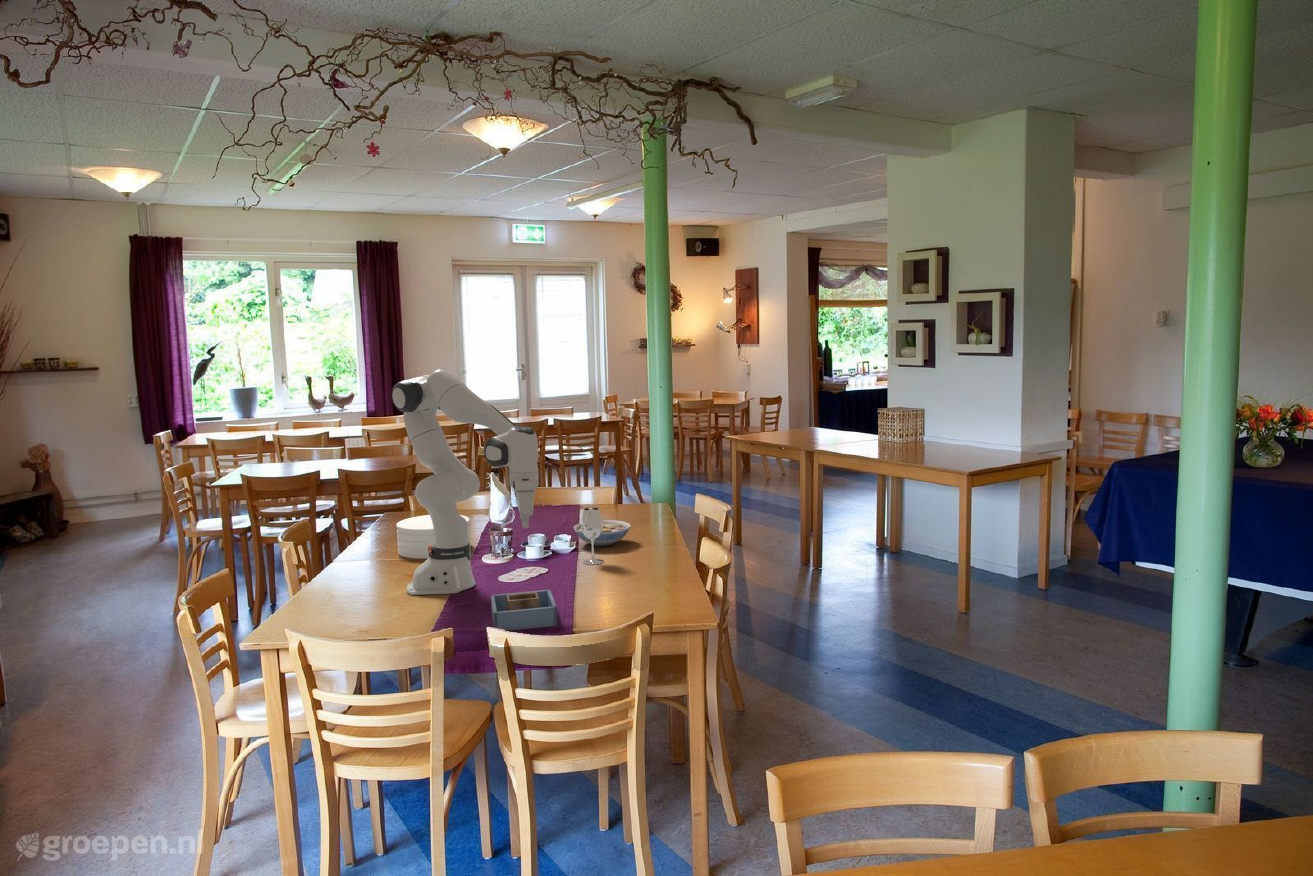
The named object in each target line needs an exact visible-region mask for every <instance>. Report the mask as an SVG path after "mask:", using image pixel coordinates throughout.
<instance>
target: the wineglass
mask: <svg viewBox="0 0 1313 876" xmlns="http://www.w3.org/2000/svg"><path fill="white" fill-rule="evenodd" d="M581 517H582V518H581V529H582V533H583V535H584V536H585V537H586V538H588V539H590V540H591V557H590V558H588V559H584V560H583V561H582V563H583V564H584V565H587V566H588V565H589V566H590V565H591V566H595V565H601V564H603V563H604V560H603V559H601V558H596V557H595V551H594V549H595V548H594V546H595V545H594V539H596V538H598V537H599V536H600V535H601V533H602V530H603V525H602V515H601V512H600V508H599V507H595V506H594V507H585V508H583V512H582V516H581Z"/></svg>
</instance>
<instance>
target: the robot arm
mask: <svg viewBox="0 0 1313 876" xmlns="http://www.w3.org/2000/svg"><path fill="white" fill-rule="evenodd" d="M391 400H392V403H393V405H394V406H395V408H396V409H397V410H398V411H400V412H401V413H403V422H404V427H405V430H406V433H407V436H408V440H409V441H410V444H411V446H412V448H413V451H414V454H415V457H416V458H417V460H418V462H419V464H421V465H422V466H424V467H426V468H428V469H429V470H430V471H431V472H432V473H433V474H431V475H429V476H427V477H425V478H423V479H422V480H420V481H419V482H418V483H417V485H416V487H415V498H416V500H417V502H418V504H419V505H420V506H421V507H423V508H424V509H425V510H426V511H427V513H428V515H430V517H431V520H432V523H433V529H434V540H435V545H434V546H433V545H429V547H428V551H429V558H426V560H425V561H424V562H423V563H420V565H419V566H417V568H416V569H415V571H414V573H413V577H412V581H411V582H410V583H408V584H407V586H406V593H407V594H409V595H411V596H416V595H417V596H419V595H447V594H449V595H450V594H457V593H460V592H461V591H464V590H467V589H471V588H472V587H474V586H475V585H476V581H475V577H474V575H473V570H472V565H471V558H472V557H471V556H472V554H471V553H472V552H471V548H470V544H471V543H470V544H469V543H468V526H467V521H466V519H465V518H463V517H462V516H460V515H461V514H460V513H459V511H458V507H457V503H461V502H465V501H467V500H469V499H471V498H472V497H474V496H475V495H476V494H477V493H479V490H480V487H481V481H480V478H479V476H478V474H477V473H476V472H475V471H474V470H472V469H470V468H469V467H467V466H466V465H464V464H463V462H461V461H460V460H459V459H458V457H457V456H456V455H455V453H454V452H453V450H452V449H451V447H450V444H449V443H448V441H447V438H446V436H445V433H444V432H443V428H442V426H441V425H440V423H439V420H438V418H437V411H438V410H440V411H442V413H443V414H444V415H445V416H446V417H448V418H449V419H451V420H452V421H454V422H457V423H460V424H473V425H479V426H483V427H485V428H488V429H489V430H491V431H492V432H493V433H495V434H496V436H492V437H490V438H488V439H487V440H486V442H485V444H484V447H483V456H484V459H485V461H486V462H487V463H488V464H489V465H490V466H491V467H497V468H501V467H507V466H508V468H509V469H508V474H509V475H508V481H509V487H512V489H513V492H515V493H516V494H515V498H516V500H515V501H516V504H517V508H518V511H519V515H520V516H519V517H520V519H519V520H520V521H521V522H522V528H523V529H529V527H530V517H531V516H533V514H534V508H535V507H534V506H535V494H536V492H535V491H537V490H538V489H537V487H538V486H539V467H538V458H539V442H538V436H537V433H536V431H535V430H534V428H531V427H529V426H525V425H524V426H523V425H516V423H514V422H513V421H511V419H509V417H507V416H506V415H504V414H503V413H502V412H501V411H500V410H499V409H497V408H496V407H495V406H493V405H491V403H489V402H487V401H485V400H484V399H483V398H481V397H480V396H478V395H477V394H476V393H474V392H473V390H471V389H470V388H469V387H468V386H467V385H466V384H465V383H464V382H463V381H462V380H461V379H460V378H458V377H457V376H456V375H454V374H453V373H452V372H451V371H448V370H447V369H444V368H443V369H437V370H434V371H433V372H431V373H430V374H423V375H420V376H416V377H412V378H409V379H404V380H401V381H398V382H397V383H395V384H394V386H393V387H392V390H391Z"/></svg>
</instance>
